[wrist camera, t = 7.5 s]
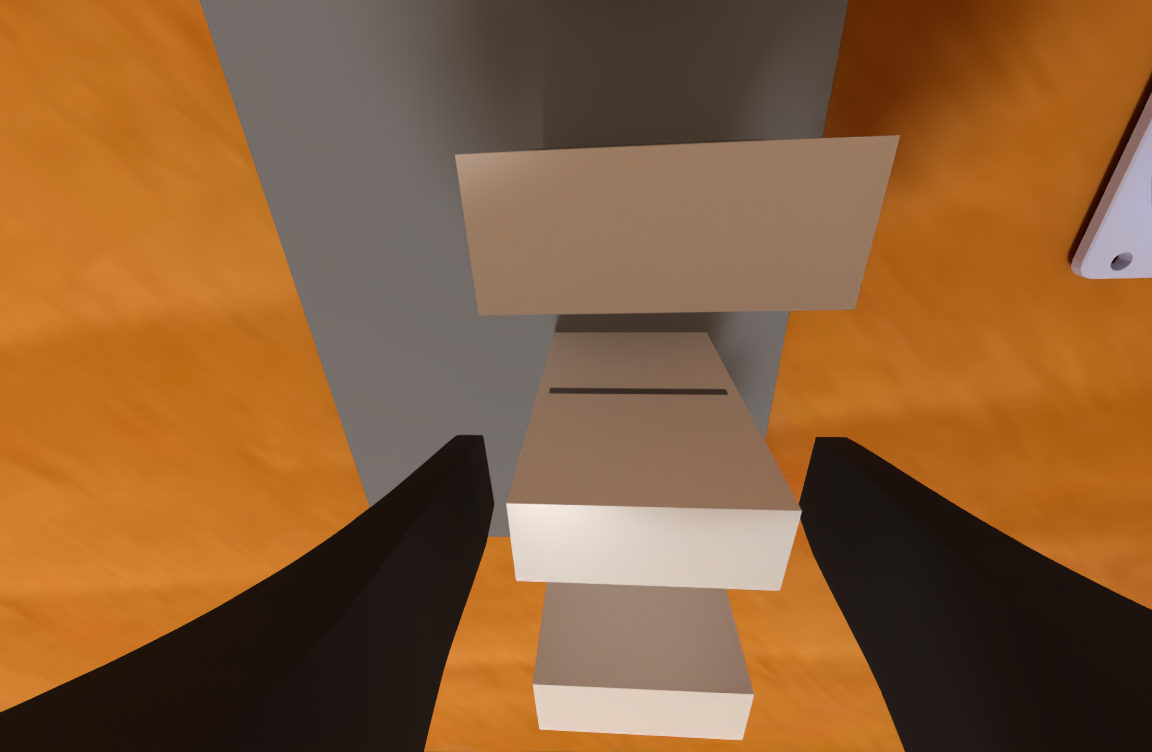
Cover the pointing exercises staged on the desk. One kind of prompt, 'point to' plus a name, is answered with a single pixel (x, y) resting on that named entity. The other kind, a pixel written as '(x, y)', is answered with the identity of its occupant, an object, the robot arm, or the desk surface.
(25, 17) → the desk surface
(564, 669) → the domino
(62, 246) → the desk surface
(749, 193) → the domino
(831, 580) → the robot arm
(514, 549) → the domino
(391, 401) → the mat
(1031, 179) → the desk surface
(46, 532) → the desk surface
